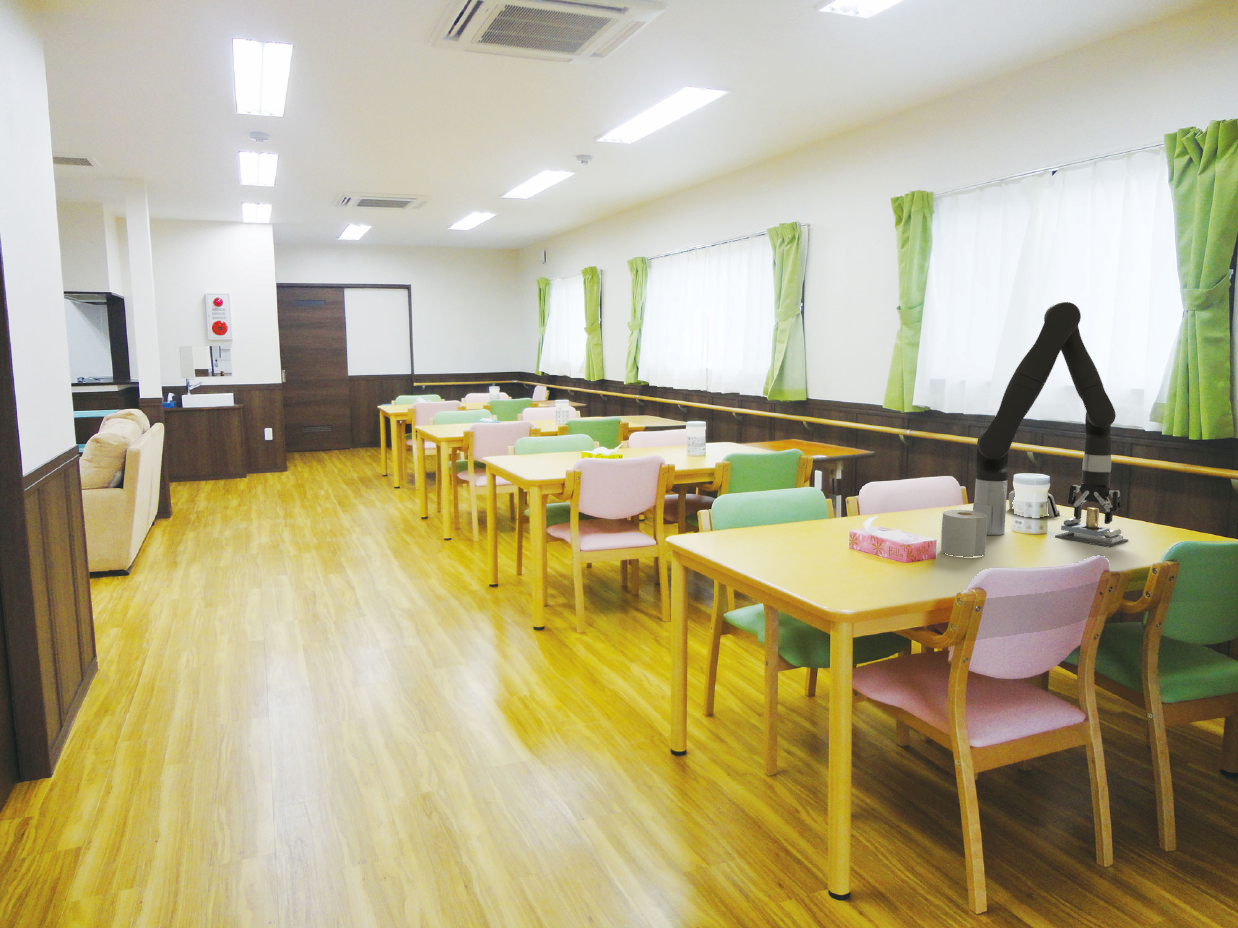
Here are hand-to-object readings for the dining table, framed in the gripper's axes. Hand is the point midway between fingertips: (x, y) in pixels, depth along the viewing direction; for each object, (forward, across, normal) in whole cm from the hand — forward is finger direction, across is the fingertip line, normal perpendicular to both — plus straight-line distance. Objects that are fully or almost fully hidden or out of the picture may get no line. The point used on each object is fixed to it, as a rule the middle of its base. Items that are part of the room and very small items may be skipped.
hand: (1092, 521), depth 251 cm
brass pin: (+5, 0, 0) cm, 5 cm away
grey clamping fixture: (+6, 0, 0) cm, 6 cm away
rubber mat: (+6, 0, 0) cm, 6 cm away
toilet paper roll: (+6, -14, -46) cm, 48 cm away
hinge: (+6, -32, +24) cm, 40 cm away
